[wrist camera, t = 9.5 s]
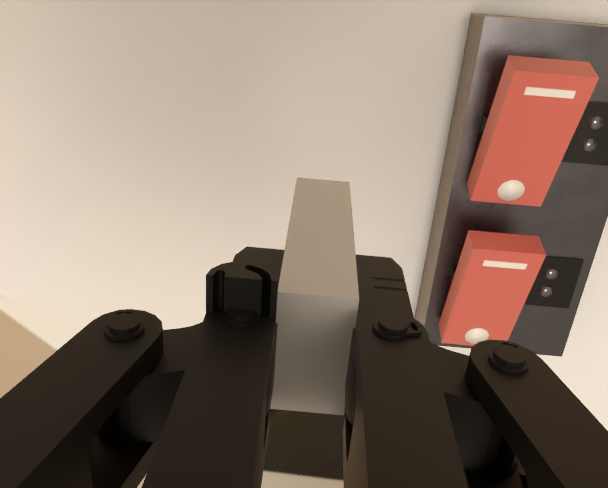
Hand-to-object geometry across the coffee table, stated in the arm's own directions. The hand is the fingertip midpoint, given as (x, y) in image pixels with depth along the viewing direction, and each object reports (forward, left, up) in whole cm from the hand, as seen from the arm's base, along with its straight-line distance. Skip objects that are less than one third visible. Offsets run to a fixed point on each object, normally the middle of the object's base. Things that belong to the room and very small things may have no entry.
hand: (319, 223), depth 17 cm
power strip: (+8, +16, -29) cm, 34 cm away
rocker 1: (+2, +14, -23) cm, 26 cm away
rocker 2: (+14, +14, -23) cm, 30 cm away
